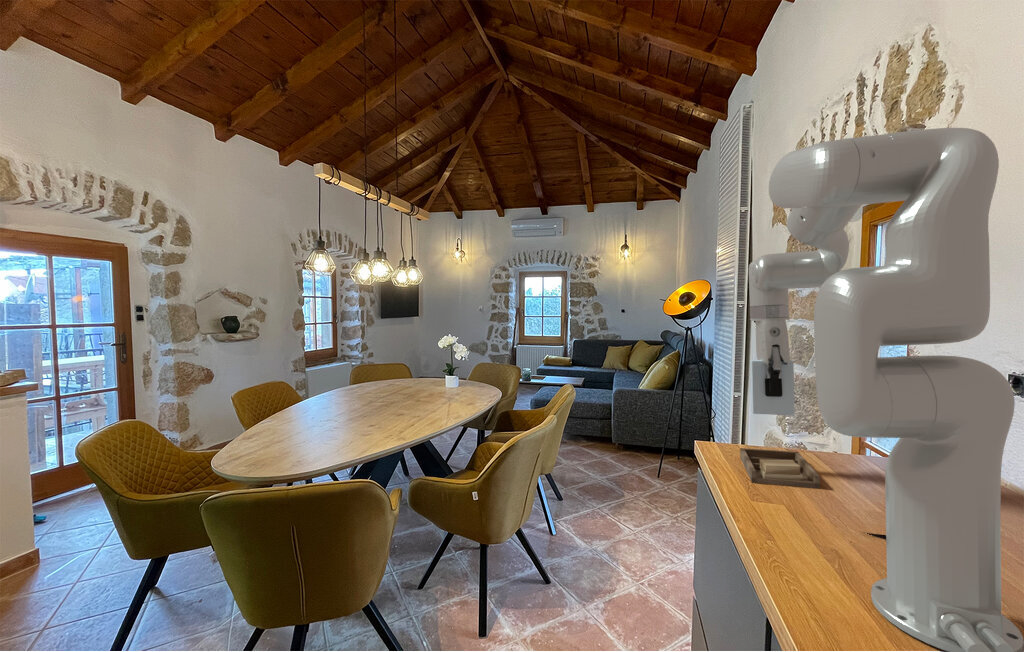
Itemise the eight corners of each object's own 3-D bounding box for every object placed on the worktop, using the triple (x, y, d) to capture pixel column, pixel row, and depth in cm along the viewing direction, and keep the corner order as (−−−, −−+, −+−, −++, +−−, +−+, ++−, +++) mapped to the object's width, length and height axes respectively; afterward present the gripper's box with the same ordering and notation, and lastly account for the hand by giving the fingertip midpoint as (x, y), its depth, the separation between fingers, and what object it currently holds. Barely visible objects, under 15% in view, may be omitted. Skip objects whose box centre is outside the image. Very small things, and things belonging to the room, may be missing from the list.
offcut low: (803, 484, 86) (803, 476, 86) (764, 481, 89) (764, 473, 88) (798, 478, 89) (798, 469, 89) (760, 475, 92) (760, 467, 92)
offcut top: (800, 474, 87) (799, 466, 87) (765, 473, 88) (765, 465, 88) (792, 468, 90) (792, 460, 90) (759, 467, 91) (759, 459, 91)
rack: (820, 493, 84) (819, 476, 84) (752, 487, 88) (751, 470, 88) (798, 466, 98) (798, 451, 98) (740, 462, 102) (740, 448, 102)
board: (794, 415, 92) (793, 361, 92) (753, 413, 95) (752, 361, 95) (791, 413, 95) (790, 360, 95) (751, 411, 98) (750, 360, 97)
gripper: (799, 313, 86) (802, 402, 86) (779, 313, 101) (782, 389, 101) (757, 314, 89) (760, 401, 89) (744, 314, 104) (747, 389, 104)
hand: (772, 394), depth 95 cm, fingers closed on board, 2 cm apart
